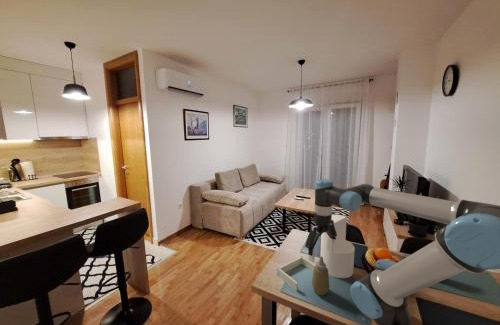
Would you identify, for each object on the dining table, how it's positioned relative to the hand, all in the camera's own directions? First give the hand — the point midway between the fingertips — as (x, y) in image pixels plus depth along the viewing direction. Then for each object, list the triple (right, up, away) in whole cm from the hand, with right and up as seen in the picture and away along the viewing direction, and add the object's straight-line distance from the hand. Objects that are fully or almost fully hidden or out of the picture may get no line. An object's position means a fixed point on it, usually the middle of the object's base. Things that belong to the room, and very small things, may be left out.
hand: (321, 255), depth 98 cm
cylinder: (+15, -16, +20) cm, 29 cm away
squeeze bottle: (0, -19, +3) cm, 19 cm away
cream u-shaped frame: (-7, -17, +14) cm, 23 cm away
